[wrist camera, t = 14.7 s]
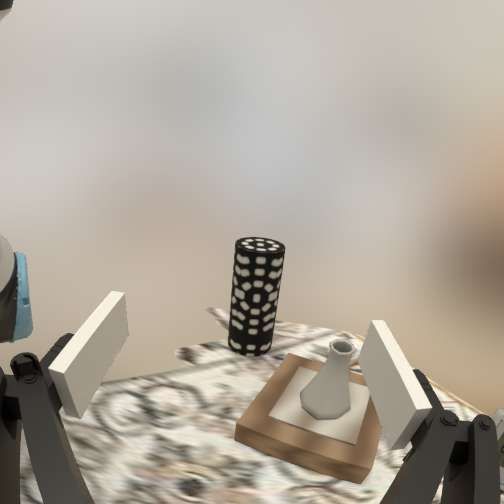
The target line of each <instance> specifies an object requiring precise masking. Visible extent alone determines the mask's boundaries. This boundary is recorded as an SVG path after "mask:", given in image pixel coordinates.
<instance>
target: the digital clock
mask: <svg viewBox="0 0 504 504" xmlns="http://www.w3.org/2000/svg"><path fill="white" fill-rule="evenodd" d="M491 418H492V419H493V421H494V422H495V425H496V431H497V439H498V450H499V464H500V490H501V491H503V492H504V409H502V408H500V409H497V410H496V412H495V413H494V414H493V416H492V417H491Z"/></svg>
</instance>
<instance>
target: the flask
mask: <svg viewBox="0 0 504 504" xmlns="http://www.w3.org/2000/svg"><path fill="white" fill-rule="evenodd" d="M329 346H330V353H329V356H328V358H327V360H326V362H325V363H324V365H323V367H322V368H321V369H320V370H319V372H318V373H317V374H316V375H315V376H314V378H313V379H312V380H311V381H310V382H309V383H308V384H307V385H306V386H305V387H304V388H303V390H302V391H301V392H300V397H301V403H302V407H303V408H304V409H305V410H307V411H308V412H309V413H310V414H312V415H313V416H314V417H315V418H317V419H331V418H339V417H340V416H342V415H343V414H344V413H346V412H347V411H348V410H350V409H351V403H350V393H349V379H348V370H349V362H350V359H351V355H352V354H354V353H355V351H356V350H355V347H354V345H353V344H352V343H350V342H349V341H347V340H341V339H336V340H334V341H332V342H330V344H329Z"/></svg>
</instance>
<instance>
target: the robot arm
mask: <svg viewBox="0 0 504 504" xmlns="http://www.w3.org/2000/svg"><path fill="white" fill-rule="evenodd" d="M12 4H13V0H0V21H1V20H2V19H3V18H4V17H5V16H6V15H7V14H8V13H9V12H10V11H11V8H12ZM32 330H33V322H32V314H31V307H30V297H29V286H28V276H27V263H26V257H25V255H24V254H23V253H18V252H13V250H12V247H11V245H10V243H9V242H8V241H7V239H6V238H4V237H3V236H2V235H0V343H4V342H10V343H12V342H14V341H15V340H18V339H23V338H27V337H28V336H30V334H31V333H32ZM128 336H129V332H128V323H127V313H126V303H125V293H121V292H115V291H112V292H111V293H110V294H109V295H108V296H107V297H106V298H105V300H104V301H103V302H102V303H101V304H100V306H98V308H97V309H96V310H95V311H94V312H93V313H92V315H91V316H90V317H89V318H88V319H87V321H86V322H85V323H84V324H83V325H82V327H81V328H80V329H79V330H78V331H77V333H76V334H71V333H67V334H66V335H64V336H62V337H60V338H59V340H58V341H57V342H56V343H55V344H54V346H53V347H52V348H51V349H50V351H48V353H47V354H46V355H45V356H44V357H43V359H42V360H41V361H40V362H39V361H38V358H37V356H36V355H34V354H32V353H28V352H27V353H20V354H18V355H16V356H15V357H13V359H12V360H11V363H10V367H11V369H12V371H13V374H14V375H6V374H4V372H3V370H2V368H1V367H0V504H20V443H21V428H22V423H23V428H24V433H25V438H26V443H27V447H28V451H29V455H30V459H31V463H32V467H33V470H34V474H35V477H36V481H37V484H38V487H39V490H40V493H41V496H42V499H43V502H44V504H95V503H94V501H93V499H92V497H91V495H90V493H89V491H88V488H87V486H86V484H85V482H84V479H83V477H82V475H81V472H80V470H79V467H78V465H77V462H76V460H75V457H74V454H73V452H72V449H71V446H70V444H69V441H68V438H67V435H66V432H65V429H64V426H63V423H62V419H61V416H60V414H59V410H60V409H61V407H62V406H63V409H64V411H65V413H66V414H67V415H69V416H72V417H75V418H78V419H81V418H82V416H83V414H84V412H85V410H86V408H87V407H88V405H89V403H90V401H91V399H92V398H93V396H94V394H95V392H96V391H97V389H98V387H99V385H100V383H101V382H102V380H103V378H104V376H105V375H106V373H107V371H108V370H109V368H110V366H111V364H112V363H113V361H114V359H115V358H116V356H117V354H118V353H119V351H120V349H121V348H122V346H123V344H124V343H125V341H126V339H127V338H128ZM358 362H359V365H360V368H361V370H362V373H363V376H364V378H365V381H366V384H367V387H368V389H369V392H370V395H371V398H372V400H373V403H374V406H375V409H376V412H377V415H378V417H379V420H380V423H381V426H382V429H383V432H384V435H385V438H386V441H387V444H388V447H389V450H397V449H404V448H405V447H406V446H407V444H408V443H409V441H411V443H412V446H413V447H412V448H411V450H410V451H409V452H408V454H407V455H406V456H405V457H404V459H403V461H404V463H403V464H402V466H401V468H400V470H399V472H398V474H397V475H396V477H395V479H394V481H393V482H392V484H391V486H390V487H389V489H388V491H387V492H386V494H385V496H384V497H383V499H382V500H381V502H380V504H431V503H432V501H433V499H434V497H435V494H436V492H437V490H438V487H439V485H440V482H441V480H442V477H443V475H444V480H443V489H442V496H441V503H440V504H500V464H499V450H498V439H497V431H496V425H495V422H494V421H493V419H492V418H490V417H489V416H487V415H484V414H479V415H477V416H476V417H475V418H474V420H473V421H472V422H469V421H460V420H459V418H458V417H457V416H456V414H454V413H453V412H451V411H448V410H444V408H443V407H442V405H441V403H440V401H439V399H438V397H437V396H436V394H435V392H434V390H433V388H432V387H431V385H429V381H428V380H427V378H426V376H425V375H424V374H423V373H422V372H420V371H419V370H418V369H415V370H412V369H411V367H410V365H409V363H408V361H407V360H406V358H405V356H404V354H403V353H402V351H401V349H400V347H399V346H398V344H397V342H396V341H395V339H394V337H393V335H392V334H391V332H390V330H389V329H388V327H387V325H386V324H385V322H384V321H382V320H371V323H370V326H369V329H368V332H367V335H366V338H365V340H364V343H363V346H362V349H361V352H360V354H359V357H358Z"/></svg>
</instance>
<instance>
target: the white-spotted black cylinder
mask: <svg viewBox="0 0 504 504" xmlns="http://www.w3.org/2000/svg"><path fill="white" fill-rule="evenodd" d="M284 254H285V246H284V245H283V244H282V243H280V242H278V241H275V240H272V239H267V238H259V237H246V238H241V239H239V240H237V241H236V242H235V255H234V267H233V280H232V294H231V307H230V320H229V336H228V345H229V347H230V348H231V349H232V350H233V351H234V352H236V353H238V354H241V355H244V356H260V355H263V354H265V353H267V352H268V351H269V350H270V348H271V343H272V337H273V330H274V324H275V317H276V310H277V304H278V297H279V290H280V283H281V276H282V269H283V261H284Z"/></svg>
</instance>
